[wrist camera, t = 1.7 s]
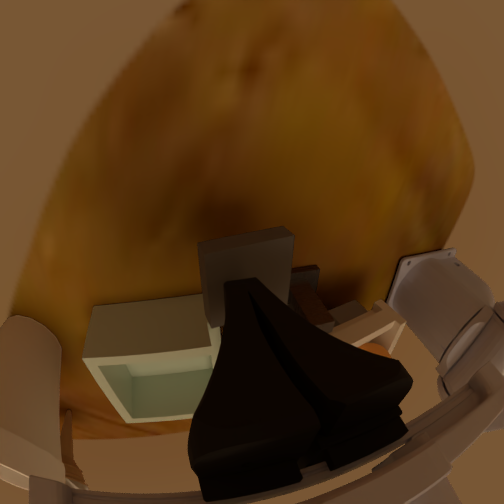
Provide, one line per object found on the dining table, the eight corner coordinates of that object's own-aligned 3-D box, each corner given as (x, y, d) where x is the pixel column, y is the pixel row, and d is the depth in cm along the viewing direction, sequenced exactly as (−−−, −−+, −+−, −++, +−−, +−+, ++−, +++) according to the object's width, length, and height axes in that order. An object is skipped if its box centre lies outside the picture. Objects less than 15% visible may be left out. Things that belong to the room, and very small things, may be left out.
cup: (212, 292, 20) (225, 343, 16) (220, 366, 25) (231, 412, 20) (93, 306, 18) (81, 358, 14) (126, 377, 23) (126, 422, 18)
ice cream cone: (78, 424, 26) (80, 527, 13) (41, 405, 22) (34, 514, 10) (98, 412, 25) (103, 530, 12) (57, 392, 22) (50, 518, 9)
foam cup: (91, 375, 22) (87, 503, 11) (18, 371, 19) (-2, 480, 8) (54, 298, 17) (11, 462, 6) (-24, 300, 14) (-77, 423, 4)
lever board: (386, 193, 18) (443, 222, 14) (345, 344, 26) (377, 378, 22) (186, 223, 13) (222, 284, 9) (212, 398, 21) (235, 448, 17)
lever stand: (316, 264, 21) (352, 311, 17) (299, 357, 27) (320, 400, 22) (266, 272, 20) (294, 324, 16) (261, 366, 26) (278, 412, 22)
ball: (381, 326, 20) (409, 360, 17) (367, 358, 22) (390, 390, 19) (340, 340, 19) (368, 381, 16) (329, 372, 21) (351, 409, 18)
